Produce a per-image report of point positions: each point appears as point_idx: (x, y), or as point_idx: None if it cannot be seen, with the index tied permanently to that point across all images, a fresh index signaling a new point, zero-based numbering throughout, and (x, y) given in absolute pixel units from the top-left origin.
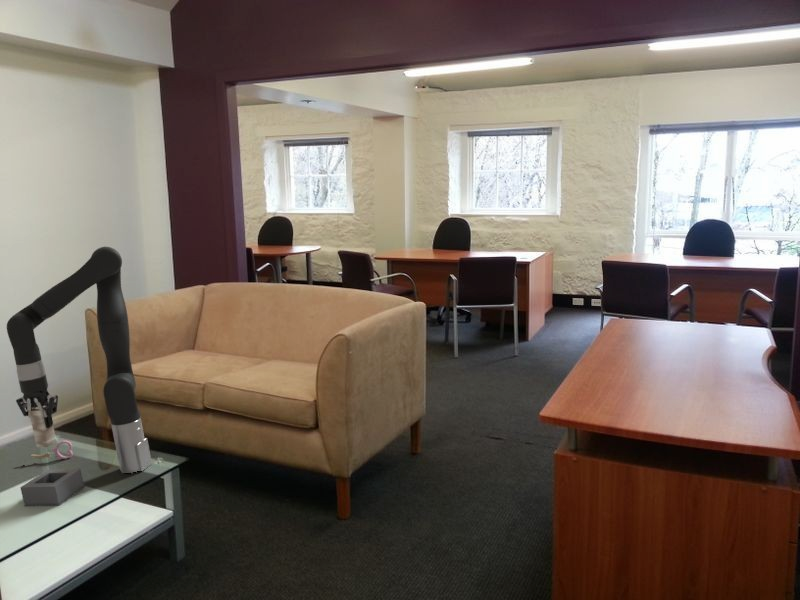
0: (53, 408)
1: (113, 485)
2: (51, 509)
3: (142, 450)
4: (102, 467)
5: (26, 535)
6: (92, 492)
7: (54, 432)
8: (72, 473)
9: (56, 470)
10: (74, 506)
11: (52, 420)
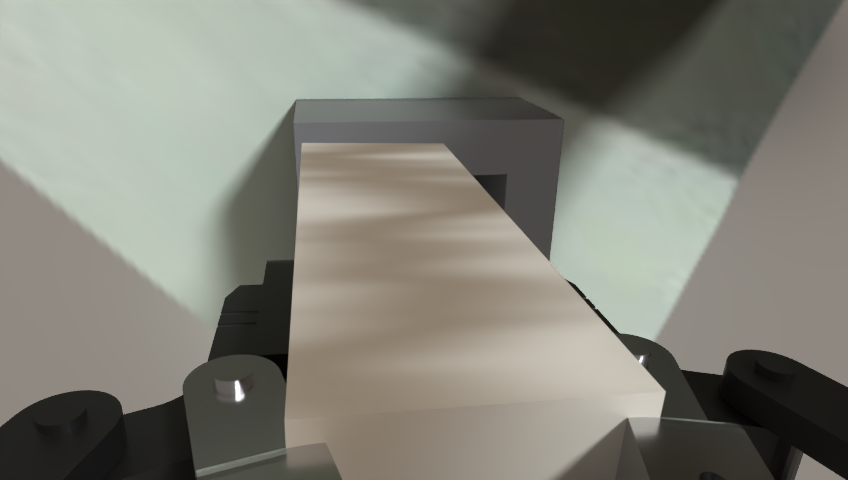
0: (813, 440)
1: (687, 84)
2: None
3: None
4: None
5: None
6: (605, 162)
7: (468, 174)
8: (546, 188)
9: (382, 136)
10: (589, 296)
11: (593, 308)
